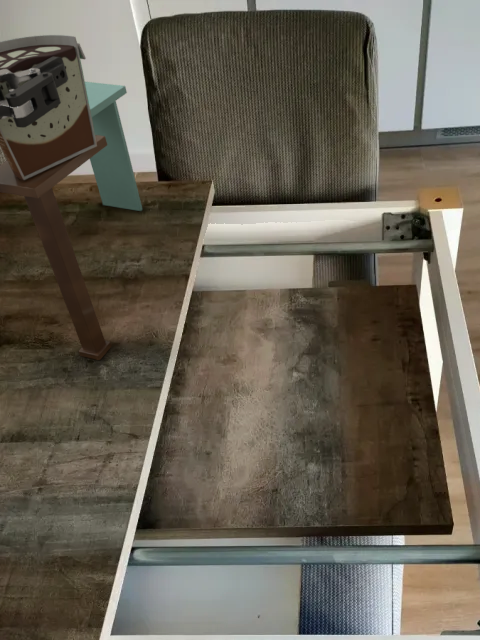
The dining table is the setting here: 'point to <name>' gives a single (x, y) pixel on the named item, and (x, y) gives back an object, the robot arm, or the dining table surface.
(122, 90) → the teal plank stand
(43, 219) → the side stand
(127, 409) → the dining table surface
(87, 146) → the food container
